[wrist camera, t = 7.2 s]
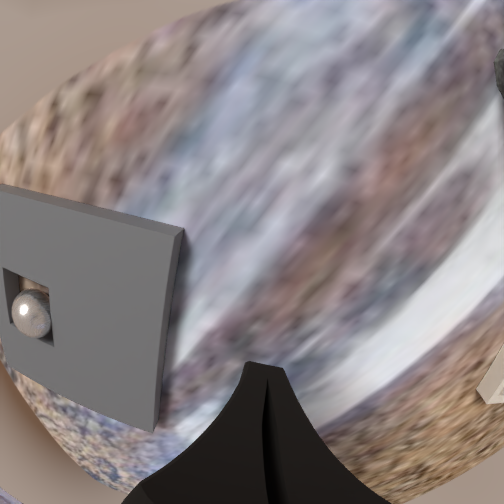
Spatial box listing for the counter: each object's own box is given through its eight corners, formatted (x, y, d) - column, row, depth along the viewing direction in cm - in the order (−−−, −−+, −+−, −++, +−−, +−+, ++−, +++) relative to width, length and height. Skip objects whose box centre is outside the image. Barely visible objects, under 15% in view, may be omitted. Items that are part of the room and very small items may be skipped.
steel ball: (23, 353, 17) (5, 319, 19) (62, 341, 21) (41, 310, 22) (22, 316, 16) (5, 282, 17) (66, 305, 20) (45, 275, 21)
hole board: (158, 418, 24) (152, 433, 22) (17, 354, 24) (7, 364, 22) (184, 228, 18) (174, 236, 17) (2, 183, 18) (-14, 187, 16)
